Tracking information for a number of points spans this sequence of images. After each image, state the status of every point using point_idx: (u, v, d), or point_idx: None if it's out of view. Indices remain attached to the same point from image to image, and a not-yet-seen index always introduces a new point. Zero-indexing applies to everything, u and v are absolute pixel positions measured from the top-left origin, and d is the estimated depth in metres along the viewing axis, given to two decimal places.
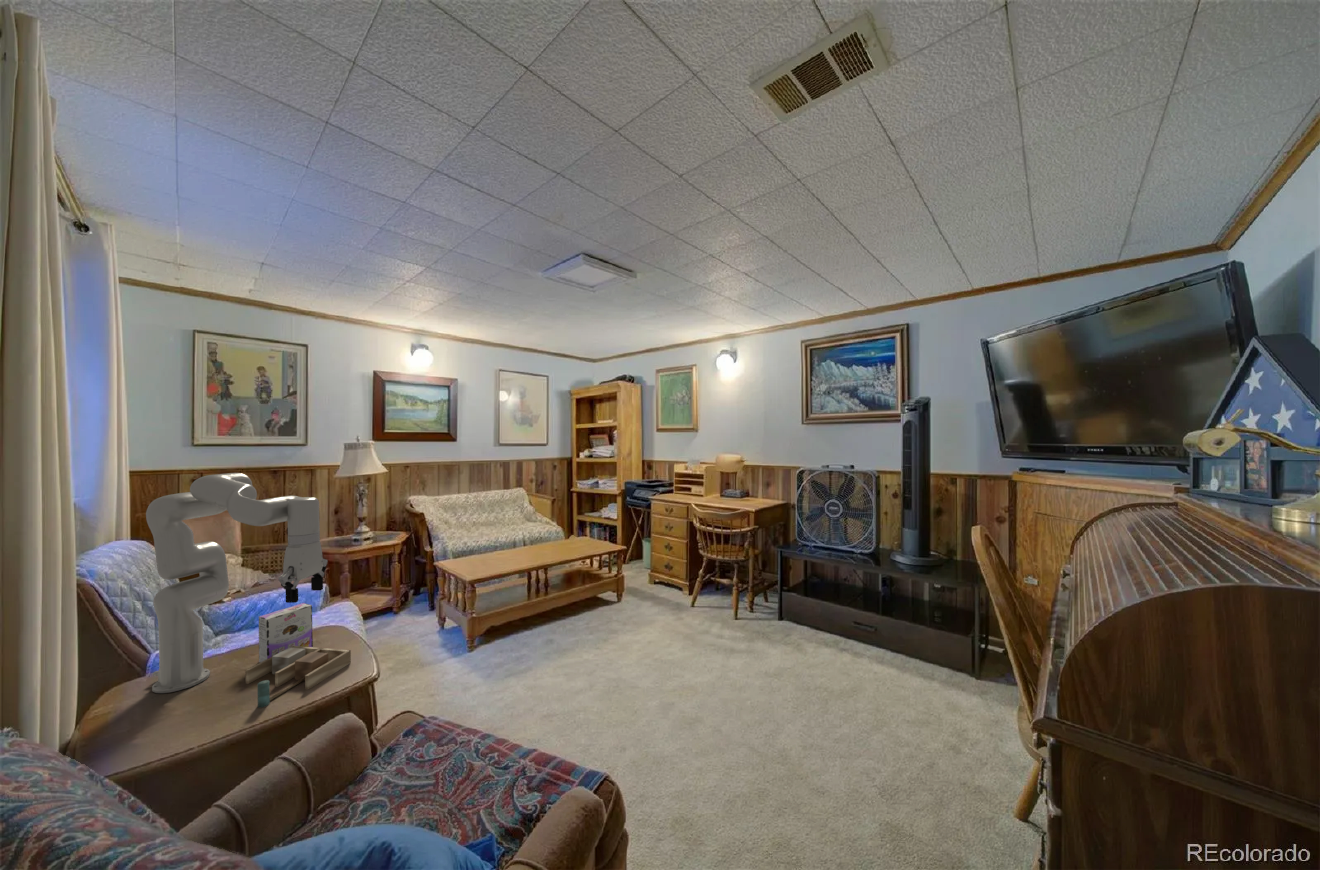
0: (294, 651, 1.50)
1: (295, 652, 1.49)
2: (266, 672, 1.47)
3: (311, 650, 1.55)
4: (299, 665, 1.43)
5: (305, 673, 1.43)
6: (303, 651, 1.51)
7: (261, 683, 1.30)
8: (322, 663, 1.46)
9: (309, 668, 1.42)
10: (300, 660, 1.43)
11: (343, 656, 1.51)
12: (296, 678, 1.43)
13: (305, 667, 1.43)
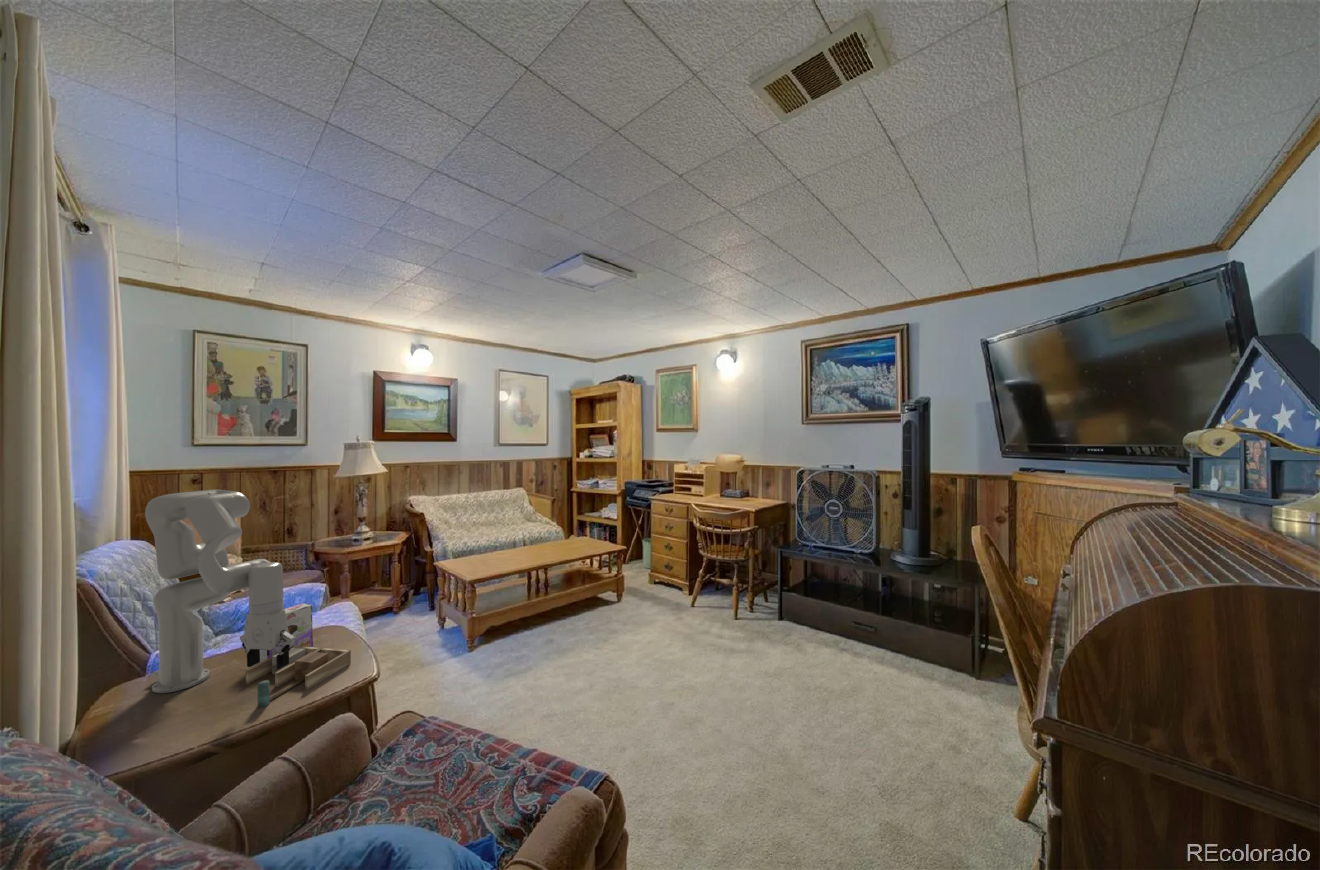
0: (294, 651, 1.50)
1: (295, 652, 1.49)
2: (266, 672, 1.47)
3: (311, 650, 1.55)
4: (299, 665, 1.43)
5: (305, 673, 1.43)
6: (303, 651, 1.51)
7: (261, 683, 1.30)
8: (322, 663, 1.46)
9: (309, 668, 1.42)
10: (300, 660, 1.43)
11: (343, 656, 1.51)
12: (296, 678, 1.43)
13: (305, 667, 1.43)
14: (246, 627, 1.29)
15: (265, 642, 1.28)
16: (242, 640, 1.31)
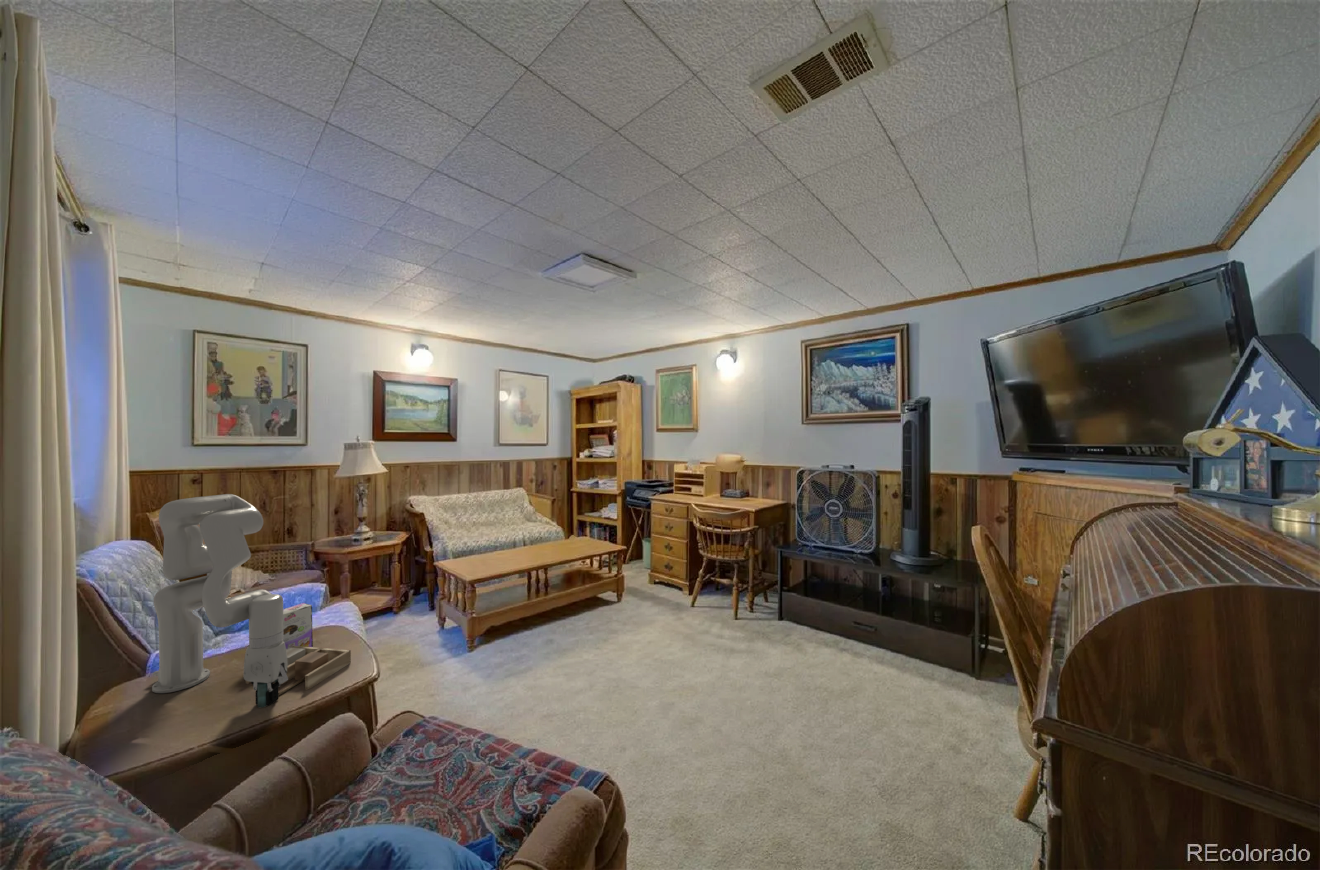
0: (294, 651, 1.50)
1: (295, 652, 1.49)
2: None
3: (311, 650, 1.55)
4: (299, 665, 1.43)
5: (305, 673, 1.43)
6: (303, 651, 1.51)
7: (261, 683, 1.30)
8: (322, 663, 1.46)
9: (309, 668, 1.42)
10: (300, 660, 1.43)
11: (343, 656, 1.51)
12: (296, 678, 1.43)
13: (305, 667, 1.43)
14: (246, 660, 1.29)
15: (264, 675, 1.28)
16: None
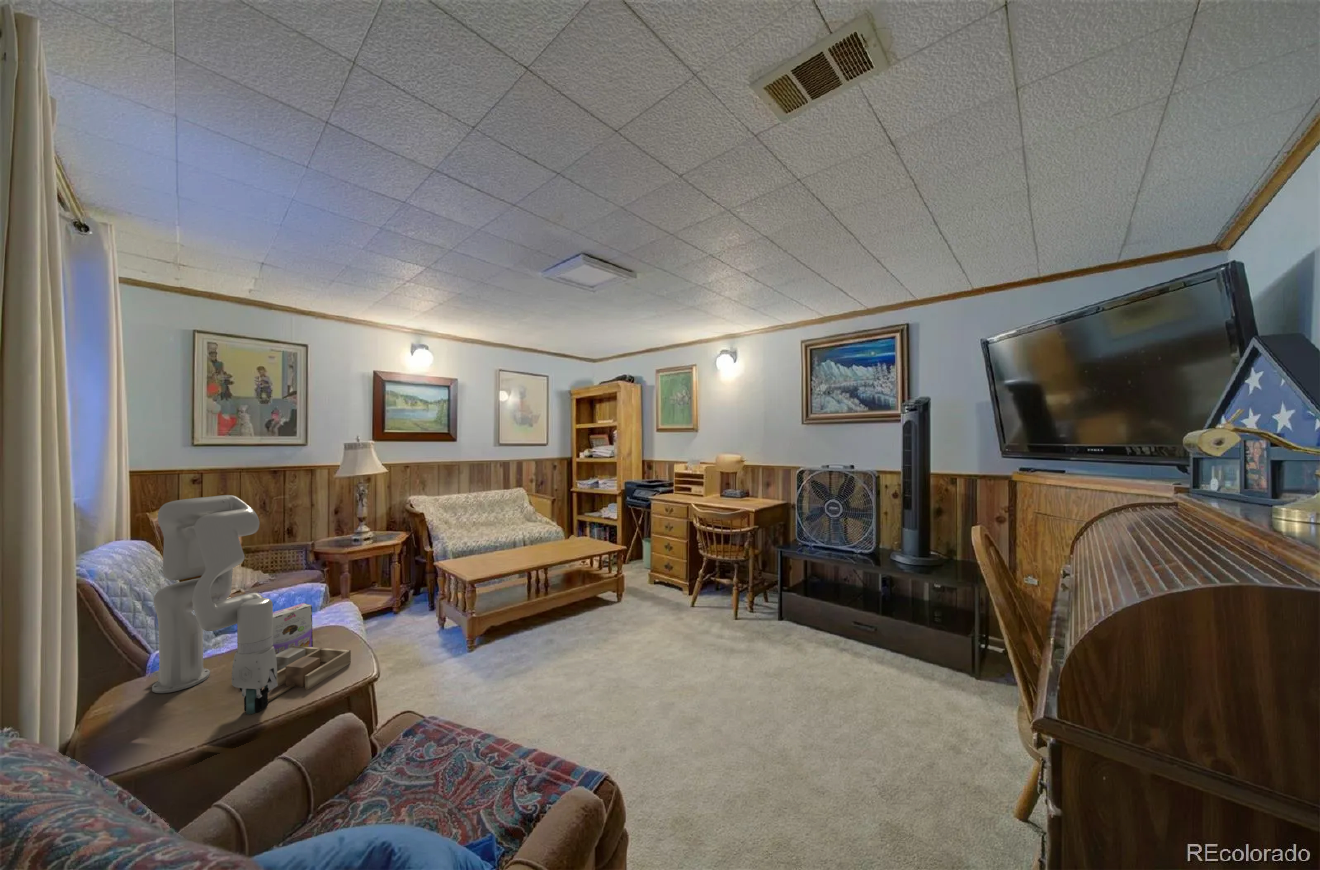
0: (294, 651, 1.50)
1: (295, 652, 1.49)
2: None
3: (311, 650, 1.55)
4: (290, 670, 1.40)
5: (296, 678, 1.40)
6: (303, 651, 1.51)
7: (250, 689, 1.27)
8: (313, 668, 1.43)
9: (300, 673, 1.39)
10: (291, 665, 1.40)
11: (343, 656, 1.51)
12: (286, 684, 1.40)
13: (296, 672, 1.40)
14: (234, 665, 1.26)
15: (253, 681, 1.25)
16: None
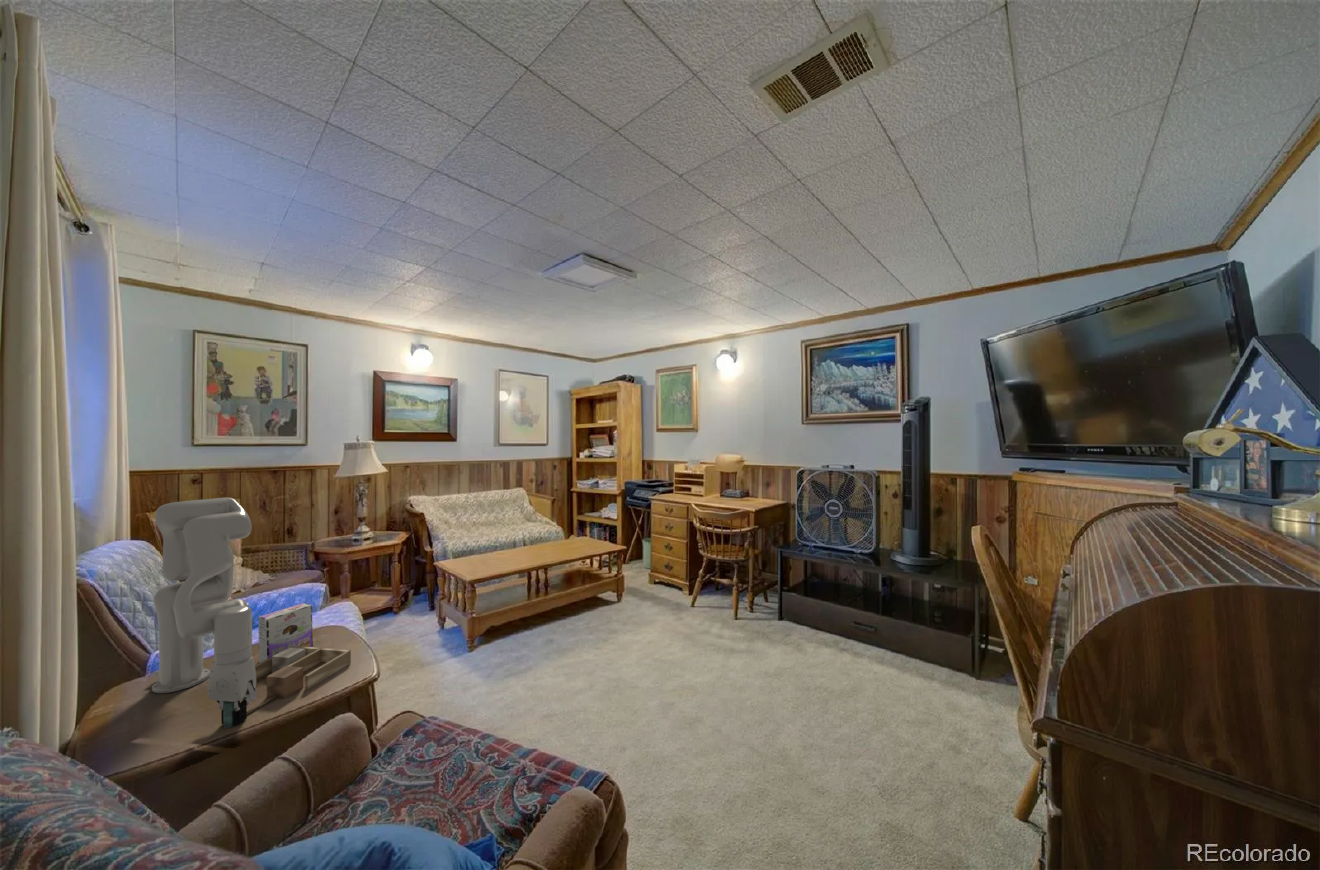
0: (294, 651, 1.50)
1: (295, 652, 1.49)
2: (266, 672, 1.47)
3: (311, 650, 1.55)
4: (271, 681, 1.34)
5: (277, 689, 1.34)
6: (303, 651, 1.51)
7: (227, 702, 1.21)
8: (296, 678, 1.37)
9: (282, 684, 1.34)
10: (272, 675, 1.35)
11: (343, 656, 1.51)
12: (268, 695, 1.34)
13: (277, 683, 1.34)
14: (211, 677, 1.20)
15: (230, 694, 1.19)
16: None
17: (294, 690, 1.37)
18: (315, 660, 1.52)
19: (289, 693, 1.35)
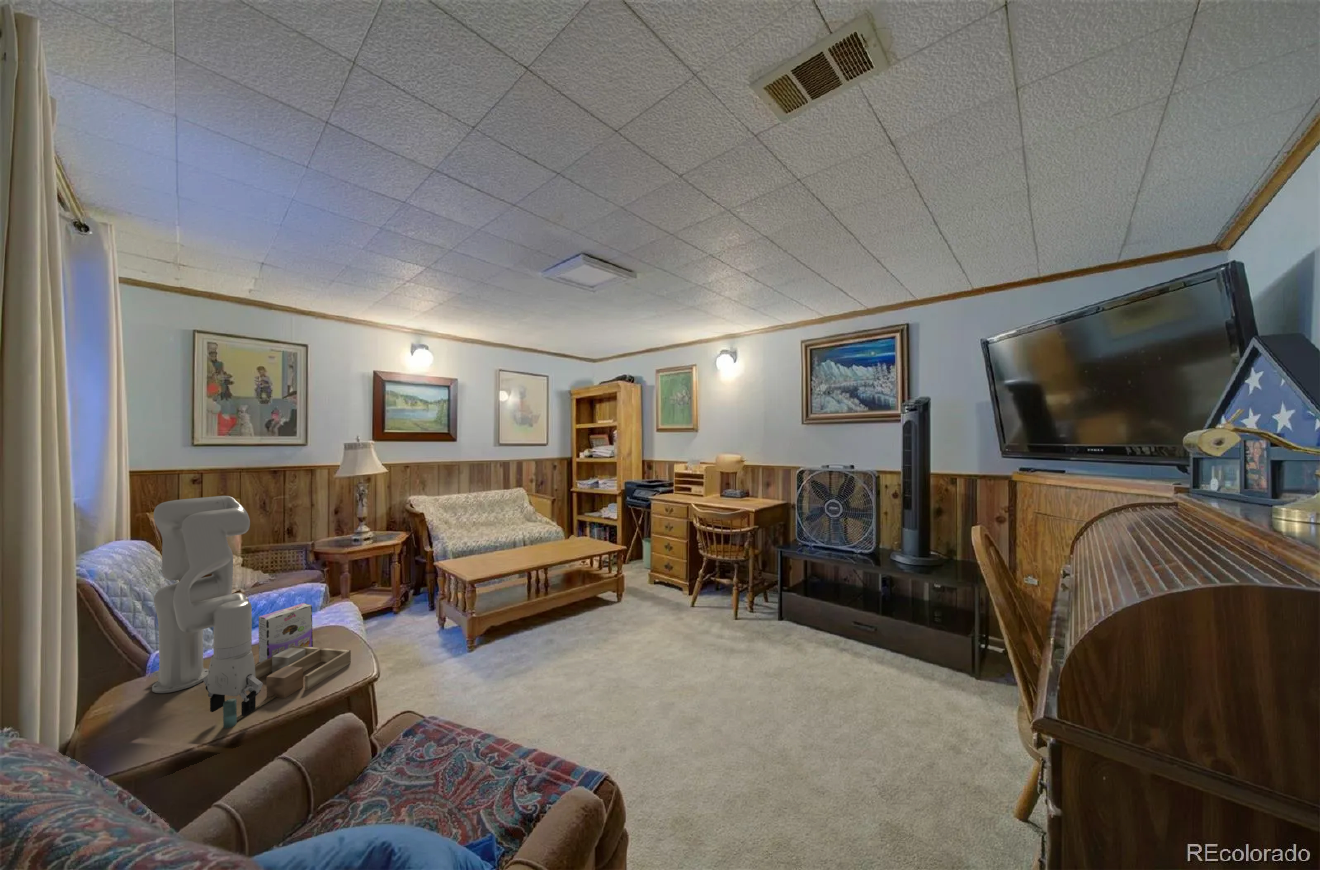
0: (294, 651, 1.50)
1: (295, 652, 1.49)
2: (266, 672, 1.47)
3: (311, 650, 1.55)
4: (271, 681, 1.34)
5: (277, 689, 1.34)
6: (303, 651, 1.51)
7: (227, 702, 1.21)
8: (296, 678, 1.37)
9: (281, 684, 1.34)
10: (272, 675, 1.35)
11: (343, 656, 1.51)
12: (268, 695, 1.34)
13: (277, 683, 1.34)
14: (210, 670, 1.20)
15: (229, 688, 1.19)
16: (206, 683, 1.23)
17: (294, 690, 1.37)
18: (315, 660, 1.52)
19: (289, 693, 1.35)
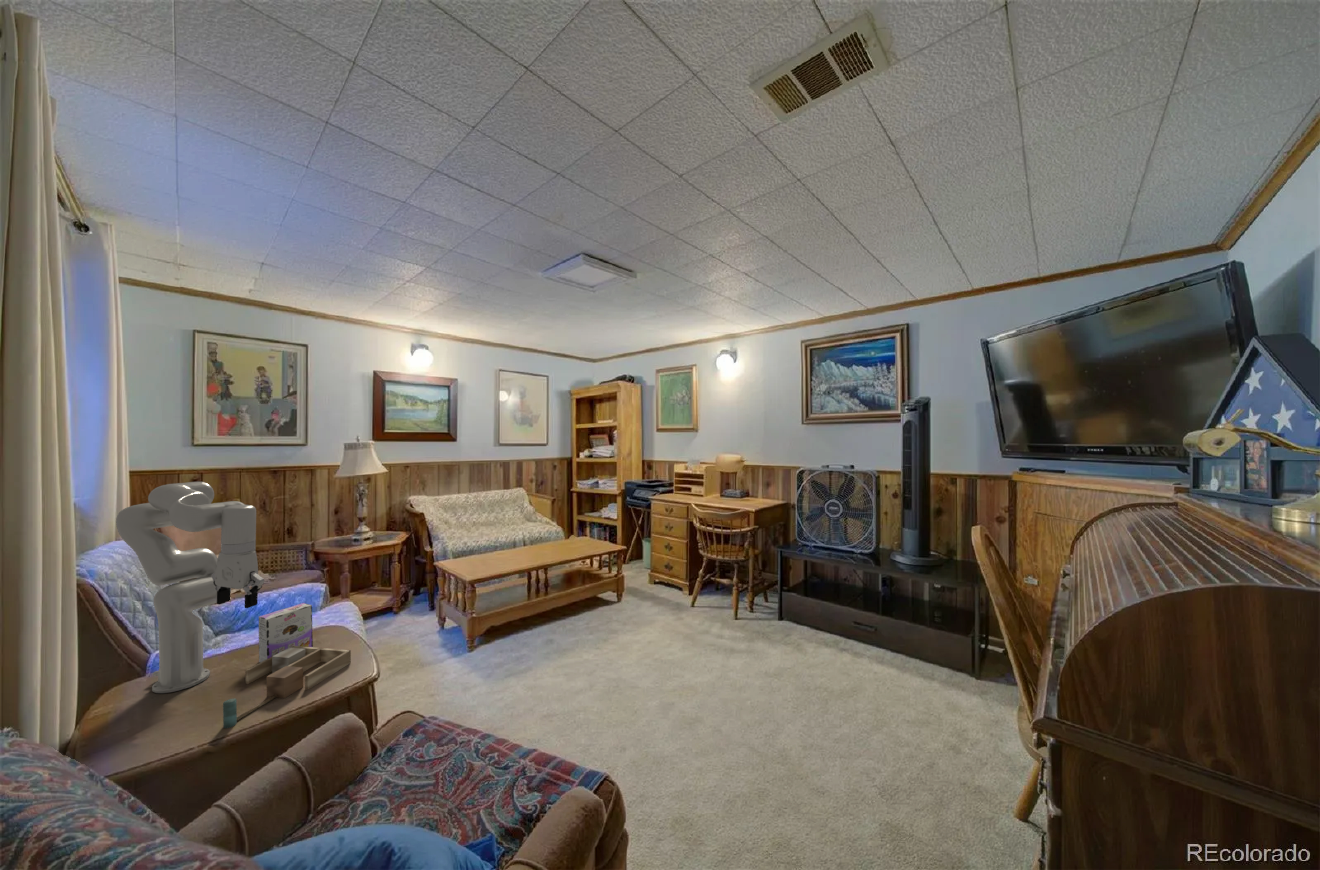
0: (294, 651, 1.50)
1: (295, 652, 1.49)
2: (266, 672, 1.47)
3: (311, 650, 1.55)
4: (271, 681, 1.34)
5: (277, 689, 1.34)
6: (303, 651, 1.51)
7: (227, 702, 1.21)
8: (296, 678, 1.37)
9: (281, 684, 1.34)
10: (272, 675, 1.35)
11: (343, 656, 1.51)
12: (268, 695, 1.34)
13: (277, 683, 1.34)
14: (217, 565, 1.32)
15: (234, 581, 1.31)
16: (214, 578, 1.35)
17: (294, 690, 1.37)
18: (315, 660, 1.52)
19: (289, 693, 1.35)
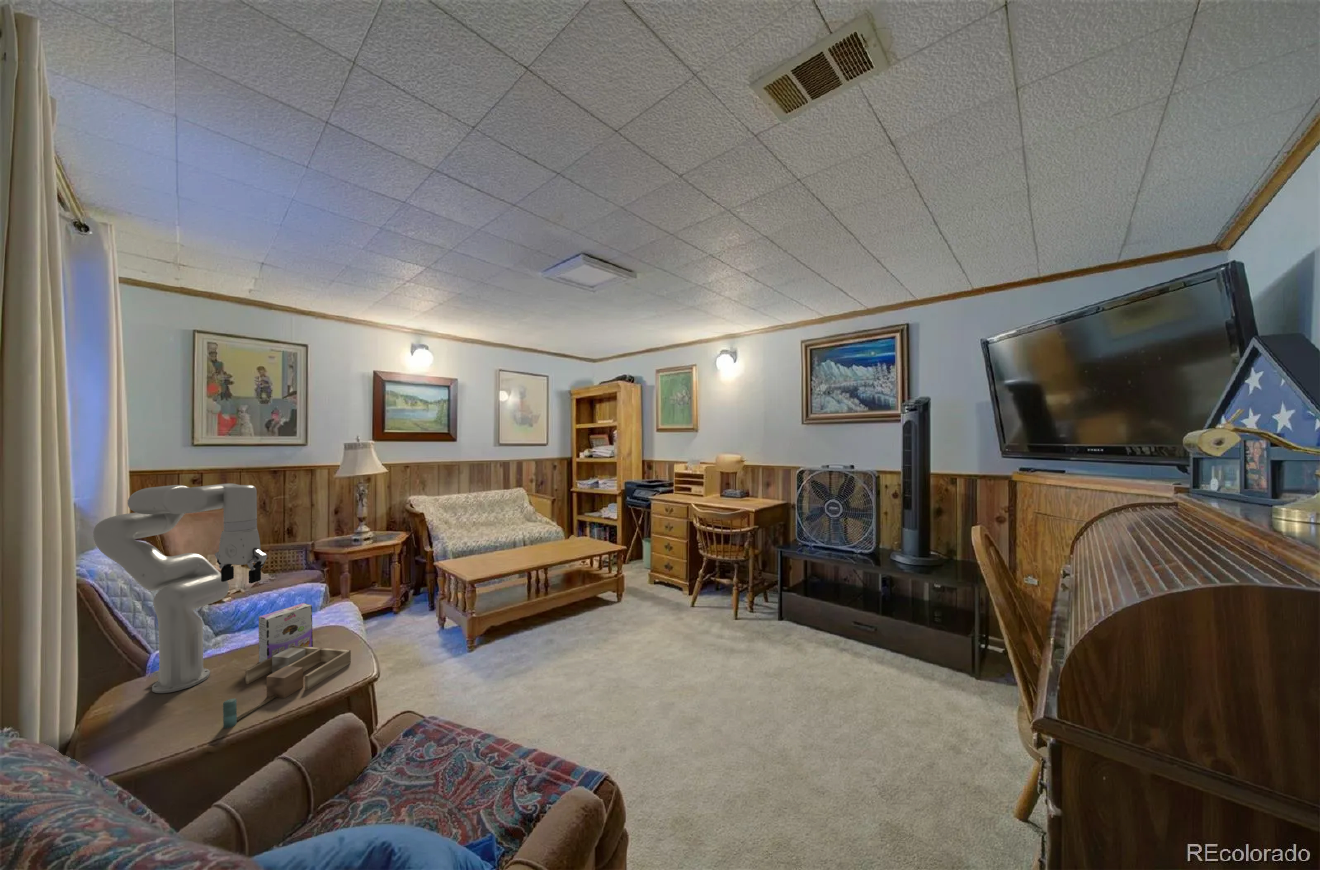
0: (294, 651, 1.50)
1: (295, 652, 1.49)
2: (266, 672, 1.47)
3: (311, 650, 1.55)
4: (271, 681, 1.34)
5: (277, 689, 1.34)
6: (303, 651, 1.51)
7: (227, 702, 1.21)
8: (296, 678, 1.37)
9: (281, 684, 1.34)
10: (272, 675, 1.35)
11: (343, 656, 1.51)
12: (268, 695, 1.34)
13: (277, 683, 1.34)
14: (220, 543, 1.37)
15: (238, 557, 1.36)
16: (217, 557, 1.40)
17: (294, 690, 1.37)
18: (315, 660, 1.52)
19: (289, 693, 1.35)
